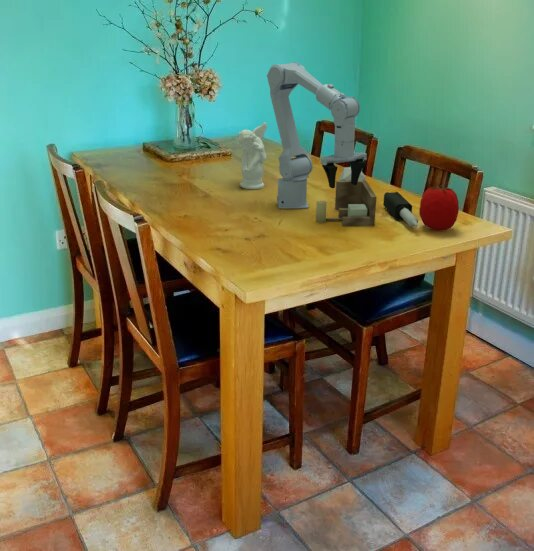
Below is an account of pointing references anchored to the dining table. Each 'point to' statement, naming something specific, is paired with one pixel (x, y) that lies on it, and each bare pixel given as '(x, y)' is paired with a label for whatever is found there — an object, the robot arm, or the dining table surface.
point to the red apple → (439, 208)
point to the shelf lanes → (355, 202)
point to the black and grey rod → (399, 208)
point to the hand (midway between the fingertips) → (343, 186)
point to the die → (347, 175)
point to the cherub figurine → (252, 157)
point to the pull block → (353, 211)
